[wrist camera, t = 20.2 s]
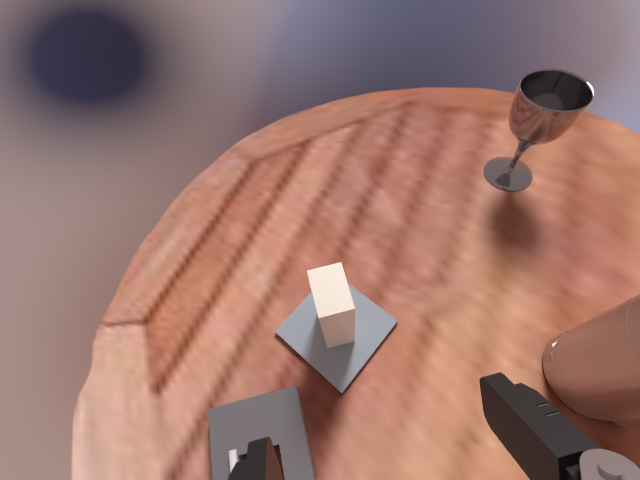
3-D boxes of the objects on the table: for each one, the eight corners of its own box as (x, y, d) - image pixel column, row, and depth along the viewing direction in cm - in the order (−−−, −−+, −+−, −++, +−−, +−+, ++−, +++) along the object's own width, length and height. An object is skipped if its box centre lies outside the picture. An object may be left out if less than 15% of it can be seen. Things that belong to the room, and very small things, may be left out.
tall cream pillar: (354, 341, 42) (355, 308, 31) (327, 348, 41) (318, 318, 31) (344, 303, 44) (341, 262, 34) (318, 310, 44) (307, 270, 34)
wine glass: (543, 190, 51) (607, 106, 38) (490, 196, 51) (535, 114, 39) (523, 152, 55) (575, 64, 42) (474, 157, 56) (510, 72, 43)
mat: (397, 322, 43) (397, 320, 42) (341, 393, 39) (341, 393, 39) (331, 272, 47) (330, 270, 47) (275, 332, 44) (274, 331, 43)
